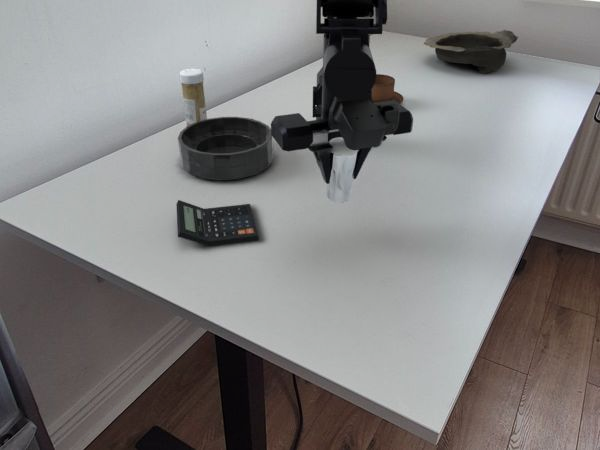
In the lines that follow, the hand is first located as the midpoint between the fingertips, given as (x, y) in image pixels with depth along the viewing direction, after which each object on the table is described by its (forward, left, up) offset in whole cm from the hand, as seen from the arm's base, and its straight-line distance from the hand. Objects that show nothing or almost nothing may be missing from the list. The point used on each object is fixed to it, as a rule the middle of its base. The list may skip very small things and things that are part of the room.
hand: (340, 180), depth 78 cm
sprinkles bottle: (+13, -44, -10) cm, 47 cm away
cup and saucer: (-30, -47, -10) cm, 56 cm away
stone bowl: (-68, -67, -10) cm, 96 cm away
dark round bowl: (+10, -30, -9) cm, 33 cm away
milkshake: (0, 0, -3) cm, 3 cm away
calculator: (+17, -8, -10) cm, 21 cm away
